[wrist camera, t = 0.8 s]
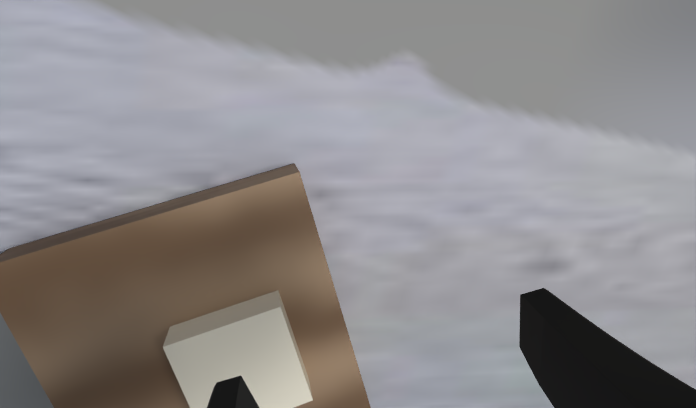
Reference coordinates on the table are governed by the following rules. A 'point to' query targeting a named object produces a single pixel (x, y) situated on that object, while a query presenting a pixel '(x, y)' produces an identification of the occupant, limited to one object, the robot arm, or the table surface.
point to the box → (18, 376)
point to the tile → (240, 354)
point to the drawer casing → (174, 293)
